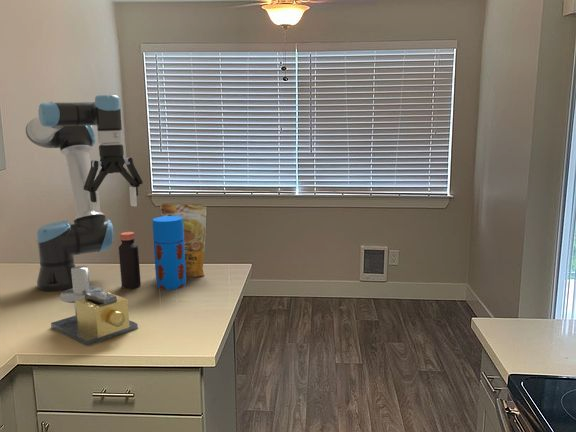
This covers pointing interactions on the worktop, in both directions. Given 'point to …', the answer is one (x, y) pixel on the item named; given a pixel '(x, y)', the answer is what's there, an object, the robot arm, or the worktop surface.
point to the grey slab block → (100, 297)
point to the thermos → (169, 252)
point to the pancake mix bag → (191, 233)
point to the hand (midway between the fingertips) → (116, 209)
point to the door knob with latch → (92, 313)
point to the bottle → (129, 261)
